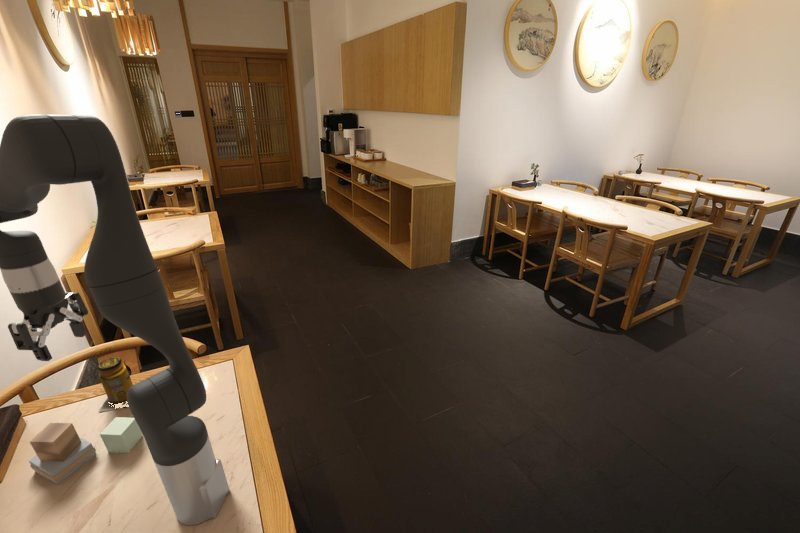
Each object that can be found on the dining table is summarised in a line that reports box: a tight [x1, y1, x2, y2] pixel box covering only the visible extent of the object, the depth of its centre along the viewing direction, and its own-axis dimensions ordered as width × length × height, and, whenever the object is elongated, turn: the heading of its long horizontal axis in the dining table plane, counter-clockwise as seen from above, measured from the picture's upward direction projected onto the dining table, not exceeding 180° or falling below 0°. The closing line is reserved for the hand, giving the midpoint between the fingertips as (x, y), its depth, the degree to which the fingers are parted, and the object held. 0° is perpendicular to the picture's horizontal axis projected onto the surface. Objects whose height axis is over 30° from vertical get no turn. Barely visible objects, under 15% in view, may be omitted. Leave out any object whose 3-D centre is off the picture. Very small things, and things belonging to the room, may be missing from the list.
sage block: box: [99, 416, 143, 454], centre depth 88 cm, size 5×5×6 cm
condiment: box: [96, 356, 134, 413], centre depth 99 cm, size 7×8×12 cm
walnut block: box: [29, 422, 81, 461], centre depth 81 cm, size 5×5×6 cm
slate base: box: [28, 437, 97, 485], centre depth 83 cm, size 8×8×4 cm
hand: (64, 347), depth 81 cm, fingers open, 8 cm apart
